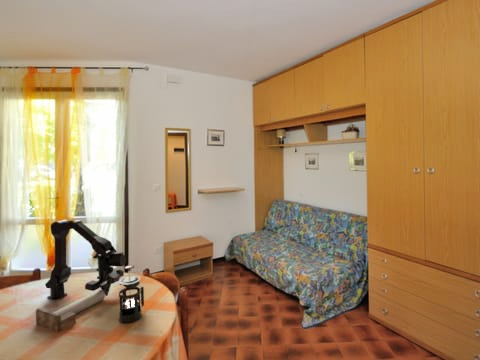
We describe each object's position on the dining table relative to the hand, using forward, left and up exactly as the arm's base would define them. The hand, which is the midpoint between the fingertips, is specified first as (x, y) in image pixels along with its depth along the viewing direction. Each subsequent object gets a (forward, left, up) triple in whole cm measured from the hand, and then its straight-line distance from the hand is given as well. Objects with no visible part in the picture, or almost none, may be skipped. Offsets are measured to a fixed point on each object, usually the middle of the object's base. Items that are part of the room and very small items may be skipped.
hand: (106, 295), depth 136 cm
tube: (-1, -15, -1) cm, 15 cm away
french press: (+26, -9, -1) cm, 27 cm away
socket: (0, -25, -1) cm, 25 cm away
